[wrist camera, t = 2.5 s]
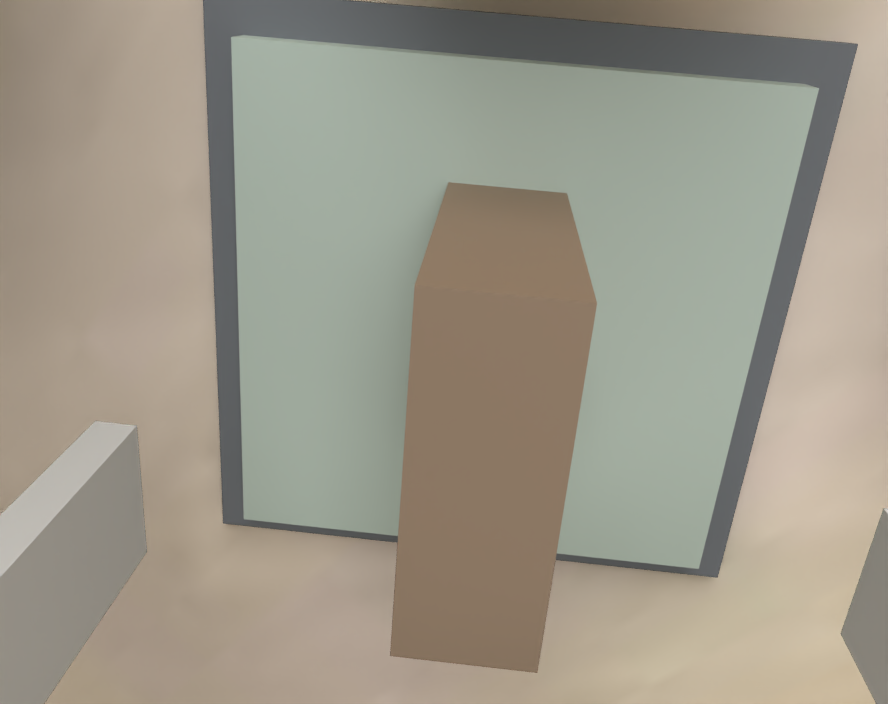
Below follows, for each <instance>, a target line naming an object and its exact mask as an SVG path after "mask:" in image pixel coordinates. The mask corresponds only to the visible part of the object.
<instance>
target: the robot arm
mask: <svg viewBox="0 0 888 704" xmlns="http://www.w3.org/2000/svg"><path fill="white" fill-rule="evenodd" d="M146 552H147V546H146V533H145V521H144V508H143V495H142V483H141V470H140V458H139V445H138V433H137V426H136V425H127V424H118V423H109V422H100V421H95V422H94V423H93V424H92V425H91V426H90V427H89V428H88V429H87V430H86V431H85V432H84V433H83V434H82V435H81V436H80V437H79V438H78V439H77V440H76V441H75V442H74V443H73V444H72V445H71V446H69V447H68V448H67V449H66V450H65V451H64V452H63V453H62V454H61V455H60V456H59V457H58V458H57V459H56V460H55V461H54V462H53V463H52V464H51V465H50V466H49V467H48V468H47V469H46V470H45V471H44V472H43V473H42V474H41V475H40V476H39V477H38V478H37V479H36V480H35V481H34V482H33V483H32V484H31V485H30V486H29V487H28V488H27V489H26V490H25V491H24V492H23V493H22V494H21V495H20V496H19V497H18V498H17V499H16V500H15V501H14V502H13V503H12V504H11V505H10V506H9V507H8V508H7V509H6V510H5V511H4V512H3V513H2V514H1V515H0V704H44V703H45V702H46V700H47V699H48V697H49V696H50V694H51V693H52V691H53V690H54V689H55V687H56V686H57V684H58V683H59V681H60V680H61V678H62V677H63V675H64V674H65V672H66V671H67V669H68V668H69V666H70V665H71V663H72V662H73V660H74V659H75V657H76V656H77V655H78V653H79V652H80V650H81V649H82V647H83V646H84V644H85V643H86V641H87V640H88V638H89V637H90V635H91V634H92V632H93V631H94V629H95V628H96V626H97V625H98V623H99V622H100V621H101V619H102V618H103V616H104V615H105V613H106V612H107V610H108V609H109V607H110V606H111V604H112V603H113V601H114V600H115V598H116V597H117V595H118V594H119V592H120V591H121V589H122V588H123V586H124V585H125V584H126V582H127V581H128V579H129V578H130V576H131V575H132V573H133V572H134V570H135V569H136V567H137V566H138V564H139V563H140V561H141V560H142V558H143V557H144V555H145V554H146ZM841 635H842V637H843V639H844V641H845V643H846V645H847V647H848V649H849V651H850V653H851V655H852V657H853V659H854V661H855V663H856V665H857V667H858V669H859V671H860V673H861V675H862V677H863V679H864V681H865V683H866V685H867V687H868V689H869V691H870V693H871V695H872V697H873V698H874V700H875V702H876V704H888V509H885V508H884V509H883V512H882V515H881V517H880V520H879V523H878V526H877V529H876V532H875V535H874V538H873V541H872V544H871V547H870V550H869V552H868V555H867V558H866V561H865V564H864V567H863V570H862V573H861V576H860V579H859V582H858V584H857V587H856V590H855V593H854V596H853V599H852V602H851V605H850V608H849V611H848V614H847V617H846V619H845V622H844V625H843V628H842V631H841Z"/></svg>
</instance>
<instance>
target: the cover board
mask: <svg viewBox="0 0 888 704" xmlns="http://www.w3.org/2000/svg"><path fill="white" fill-rule="evenodd" d="M231 53H232V91H233V130H234V168H235V206H236V244H237V282H238V320H239V358H240V396H241V435H242V473H243V511H244V519H247V520H256V521H265V522H274V523H283V524H292V525H302V526H311V527H320V528H329V529H338V530H347V531H356V532H366V533H375V534H384V535H393V536H398V544H397V559H396V575H395V590H394V605H393V620H392V635H391V651H390V656H395V657H404V658H413V659H421V660H430V661H439V662H447V663H456V664H465V665H474V666H482V667H491V668H500V669H508V670H517V671H526V672H535V673H537V671H538V665H539V658H540V652H541V646H542V640H543V634H544V628H545V622H546V615H547V609H548V603H549V597H550V591H551V585H552V578H553V572H554V566H555V560H556V554H557V553H558V554H567V555H576V556H585V557H594V558H603V559H612V560H622V561H631V562H640V563H649V564H658V565H667V566H676V567H686V568H695V569H699V566H700V562H701V558H702V554H703V550H704V546H705V542H706V538H707V534H708V530H709V526H710V522H711V518H712V514H713V510H714V506H715V502H716V498H717V494H718V490H719V486H720V482H721V478H722V474H723V470H724V466H725V462H726V458H727V454H728V450H729V446H730V442H731V438H732V434H733V430H734V426H735V422H736V418H737V414H738V410H739V406H740V402H741V398H742V394H743V390H744V386H745V382H746V378H747V374H748V370H749V366H750V362H751V358H752V354H753V350H754V346H755V342H756V338H757V334H758V330H759V326H760V322H761V319H762V315H763V311H764V307H765V303H766V299H767V295H768V291H769V287H770V283H771V279H772V275H773V271H774V267H775V263H776V259H777V255H778V251H779V247H780V243H781V239H782V235H783V231H784V227H785V223H786V219H787V215H788V211H789V207H790V203H791V199H792V195H793V191H794V187H795V183H796V179H797V175H798V171H799V167H800V163H801V159H802V155H803V151H804V147H805V143H806V139H807V135H808V131H809V127H810V123H811V119H812V115H813V111H814V107H815V103H816V99H817V95H818V91H819V88H816V87H813V86H810V85H807V84H799V83H788V82H776V81H765V80H753V79H742V78H730V77H719V76H707V75H696V74H685V73H673V72H662V71H650V70H639V69H627V68H616V67H604V66H593V65H581V64H570V63H558V62H547V61H535V60H524V59H512V58H501V57H489V56H478V55H466V54H455V53H443V52H432V51H421V50H409V49H398V48H386V47H375V46H363V45H352V44H340V43H329V42H317V41H306V40H294V39H283V38H271V37H260V36H248V35H241V36H235V37H231Z"/></svg>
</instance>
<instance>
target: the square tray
mask: <svg viewBox="0 0 888 704" xmlns="http://www.w3.org/2000/svg"><path fill="white" fill-rule="evenodd" d="M203 10H204V36H205V62H206V88H207V114H208V140H209V166H210V192H211V218H212V244H213V270H214V296H215V322H216V348H217V374H218V400H219V426H220V452H221V478H222V504H223V523H225V524H234V525H243V526H252V527H261V528H270V529H279V530H288V531H297V532H307V533H316V534H325V535H334V536H343V537H352V538H361V539H370V540H380V541H389V542H398V536H393V535H384V534H375V533H366V532H356V531H347V530H338V529H329V528H320V527H311V526H302V525H292V524H283V523H274V522H265V521H256V520H247V519H244V511H243V473H242V435H241V396H240V358H239V320H238V282H237V244H236V206H235V168H234V130H233V91H232V53H231V37H235V36H241V35H248V36H260V37H271V38H283V39H294V40H306V41H317V42H329V43H340V44H352V45H363V46H375V47H386V48H398V49H409V50H421V51H432V52H443V53H455V54H466V55H478V56H489V57H501V58H512V59H524V60H535V61H547V62H558V63H570V64H581V65H593V66H604V67H616V68H627V69H639V70H650V71H662V72H673V73H685V74H696V75H707V76H719V77H730V78H742V79H753V80H765V81H776V82H788V83H799V84H807V85H810V86H813V87H816V88H819V91H818V95H817V99H816V103H815V107H814V111H813V115H812V119H811V123H810V127H809V131H808V135H807V139H806V143H805V147H804V151H803V155H802V159H801V163H800V167H799V171H798V175H797V179H796V183H795V187H794V191H793V195H792V199H791V203H790V207H789V211H788V215H787V219H786V223H785V227H784V231H783V235H782V239H781V243H780V247H779V251H778V255H777V259H776V263H775V267H774V271H773V275H772V279H771V283H770V287H769V291H768V295H767V299H766V303H765V307H764V311H763V315H762V319H761V322H760V326H759V330H758V334H757V338H756V342H755V346H754V350H753V354H752V358H751V362H750V366H749V370H748V374H747V378H746V382H745V386H744V390H743V394H742V398H741V402H740V406H739V410H738V414H737V418H736V422H735V426H734V430H733V434H732V438H731V442H730V446H729V450H728V454H727V458H726V462H725V466H724V470H723V474H722V478H721V482H720V486H719V490H718V494H717V498H716V502H715V506H714V510H713V514H712V518H711V522H710V526H709V530H708V534H707V538H706V542H705V546H704V550H703V554H702V558H701V562H700V566H699V569H695V568H686V567H676V566H667V565H658V564H649V563H640V562H631V561H622V560H612V559H603V558H594V557H585V556H576V555H567V554H558V553H557V554H556V560H562V561H571V562H580V563H589V564H598V565H607V566H617V567H626V568H635V569H644V570H653V571H662V572H671V573H680V574H690V575H699V576H708V577H717V578H718V574H719V570H720V566H721V562H722V559H723V555H724V551H725V547H726V543H727V540H728V536H729V532H730V528H731V524H732V521H733V517H734V513H735V509H736V505H737V502H738V498H739V494H740V490H741V486H742V483H743V479H744V475H745V471H746V467H747V464H748V460H749V456H750V452H751V448H752V445H753V441H754V437H755V433H756V429H757V426H758V422H759V418H760V414H761V410H762V407H763V403H764V399H765V395H766V391H767V388H768V384H769V380H770V376H771V372H772V369H773V365H774V361H775V357H776V354H777V350H778V346H779V342H780V338H781V335H782V331H783V327H784V323H785V319H786V316H787V312H788V308H789V304H790V300H791V297H792V293H793V289H794V285H795V281H796V278H797V274H798V270H799V266H800V262H801V259H802V255H803V251H804V247H805V243H806V240H807V236H808V232H809V228H810V224H811V221H812V217H813V213H814V209H815V205H816V202H817V198H818V194H819V190H820V186H821V183H822V179H823V175H824V171H825V167H826V164H827V160H828V156H829V152H830V148H831V145H832V141H833V137H834V133H835V130H836V126H837V122H838V118H839V114H840V111H841V107H842V103H843V99H844V95H845V92H846V88H847V84H848V80H849V76H850V73H851V69H852V65H853V61H854V57H855V54H856V50H857V46H858V44H853V43H845V42H833V41H821V40H810V39H798V38H786V37H774V36H763V35H751V34H739V33H727V32H716V31H704V30H692V29H680V28H669V27H657V26H645V25H633V24H622V23H610V22H598V21H586V20H575V19H563V18H551V17H539V16H528V15H516V14H504V13H492V12H481V11H469V10H457V9H445V8H434V7H422V6H410V5H398V4H387V3H375V2H363V1H351V0H203Z"/></svg>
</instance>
